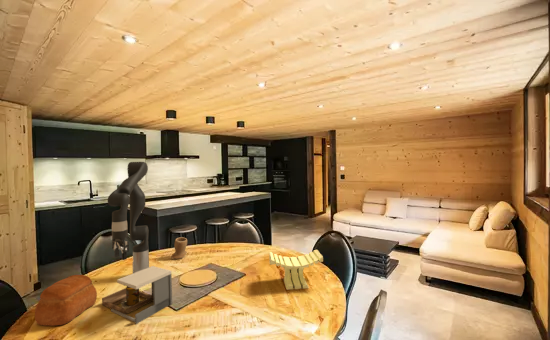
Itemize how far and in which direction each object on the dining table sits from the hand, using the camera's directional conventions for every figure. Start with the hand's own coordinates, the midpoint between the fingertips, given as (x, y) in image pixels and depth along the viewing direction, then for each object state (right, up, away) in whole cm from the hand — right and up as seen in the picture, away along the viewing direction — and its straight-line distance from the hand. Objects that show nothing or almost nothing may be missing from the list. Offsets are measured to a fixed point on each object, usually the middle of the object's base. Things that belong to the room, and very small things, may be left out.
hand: (120, 258), depth 145 cm
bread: (-16, -22, -17) cm, 32 cm away
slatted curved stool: (+99, -19, +12) cm, 101 cm away
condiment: (+11, -21, -9) cm, 25 cm away
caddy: (+9, -21, -8) cm, 24 cm away
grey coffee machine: (+18, -21, -13) cm, 31 cm away
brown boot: (+11, -20, +62) cm, 66 cm away
